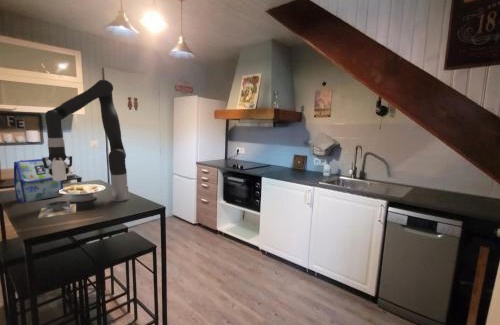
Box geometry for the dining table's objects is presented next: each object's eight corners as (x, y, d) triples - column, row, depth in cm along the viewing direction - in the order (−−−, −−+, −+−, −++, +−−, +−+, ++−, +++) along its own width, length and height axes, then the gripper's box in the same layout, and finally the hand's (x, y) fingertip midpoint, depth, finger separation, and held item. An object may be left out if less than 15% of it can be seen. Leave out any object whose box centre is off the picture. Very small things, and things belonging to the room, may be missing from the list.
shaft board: (76, 206, 153) (75, 203, 153) (76, 215, 138) (75, 212, 138) (42, 210, 144) (41, 208, 144) (38, 221, 129) (37, 218, 129)
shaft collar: (72, 204, 151) (71, 199, 151) (71, 212, 138) (71, 207, 137) (45, 207, 145) (45, 202, 144) (42, 217, 131) (42, 211, 130)
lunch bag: (24, 205, 154) (19, 162, 150) (14, 200, 162) (8, 160, 158) (66, 196, 172) (62, 158, 168) (55, 192, 181) (51, 156, 177)
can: (55, 179, 150) (53, 158, 148) (68, 178, 152) (66, 158, 150) (51, 181, 144) (48, 160, 142) (64, 180, 146) (62, 160, 144)
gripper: (72, 144, 152) (74, 172, 154) (41, 145, 144) (44, 174, 147) (71, 145, 146) (74, 174, 148) (39, 146, 138) (42, 177, 141)
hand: (59, 174), depth 147 cm, fingers closed on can, 6 cm apart
